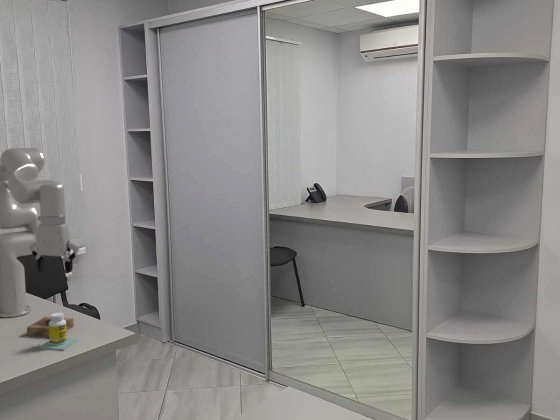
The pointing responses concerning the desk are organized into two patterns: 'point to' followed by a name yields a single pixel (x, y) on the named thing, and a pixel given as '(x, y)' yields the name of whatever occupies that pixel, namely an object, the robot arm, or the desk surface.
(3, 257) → the robot arm
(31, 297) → the desk surface
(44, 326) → the can holder
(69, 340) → the coaster plate
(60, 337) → the supplement bottle
